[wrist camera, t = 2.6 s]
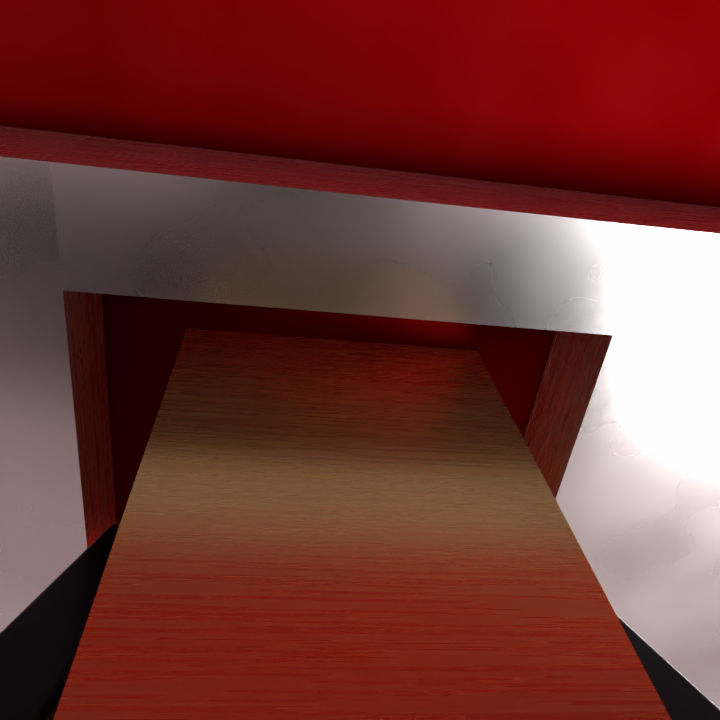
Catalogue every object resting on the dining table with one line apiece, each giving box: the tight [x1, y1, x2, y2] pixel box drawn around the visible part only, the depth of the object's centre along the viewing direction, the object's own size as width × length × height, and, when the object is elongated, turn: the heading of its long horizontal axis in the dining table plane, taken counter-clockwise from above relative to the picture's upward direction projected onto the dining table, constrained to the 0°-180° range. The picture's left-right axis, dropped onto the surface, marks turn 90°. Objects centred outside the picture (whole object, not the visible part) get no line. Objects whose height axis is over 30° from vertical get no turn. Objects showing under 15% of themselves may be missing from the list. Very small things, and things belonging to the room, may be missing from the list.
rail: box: [0, 125, 720, 709], centre depth 10 cm, size 22×10×2 cm, turn 83°
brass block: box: [53, 328, 671, 720], centre depth 8 cm, size 5×5×7 cm
